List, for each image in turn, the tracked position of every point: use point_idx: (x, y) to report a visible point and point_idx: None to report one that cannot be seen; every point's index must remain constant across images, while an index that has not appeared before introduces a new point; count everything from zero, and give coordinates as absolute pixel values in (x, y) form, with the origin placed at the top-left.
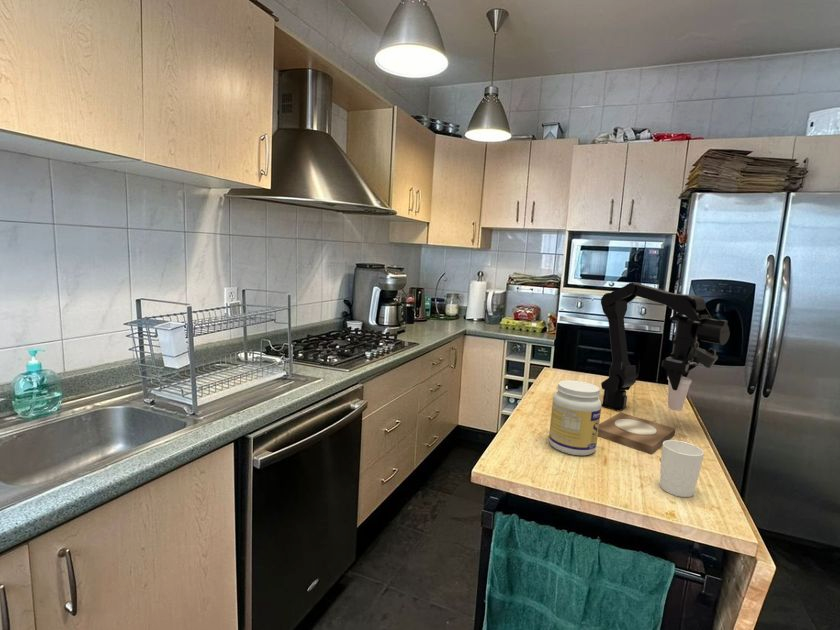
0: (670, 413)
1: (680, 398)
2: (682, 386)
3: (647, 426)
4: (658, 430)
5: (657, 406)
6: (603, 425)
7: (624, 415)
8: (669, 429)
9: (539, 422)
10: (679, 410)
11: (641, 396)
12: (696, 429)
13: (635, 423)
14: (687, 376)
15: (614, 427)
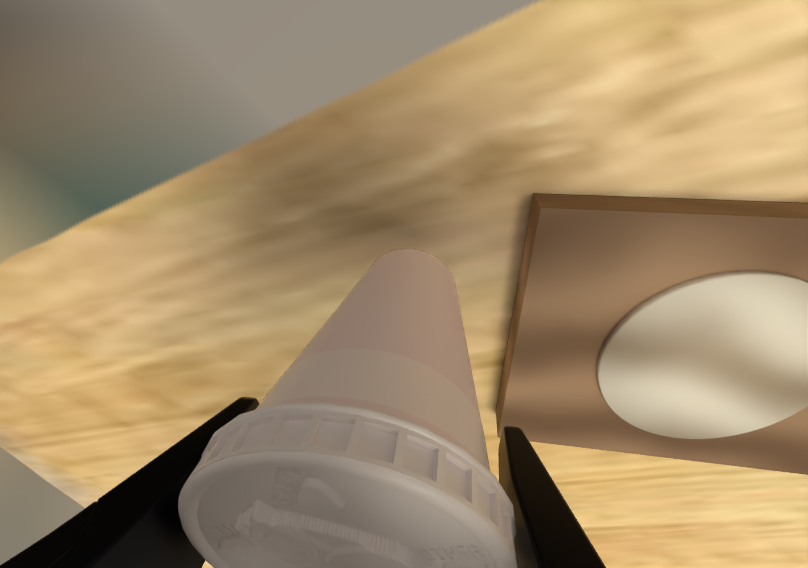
0: (198, 283)
1: (456, 323)
2: (475, 437)
3: (672, 326)
4: (668, 271)
5: (169, 340)
6: (778, 456)
7: (532, 420)
8: (596, 230)
9: (774, 562)
10: (438, 259)
11: (125, 401)
12: (306, 126)
13: (661, 375)
14: (121, 504)
15: (778, 423)
